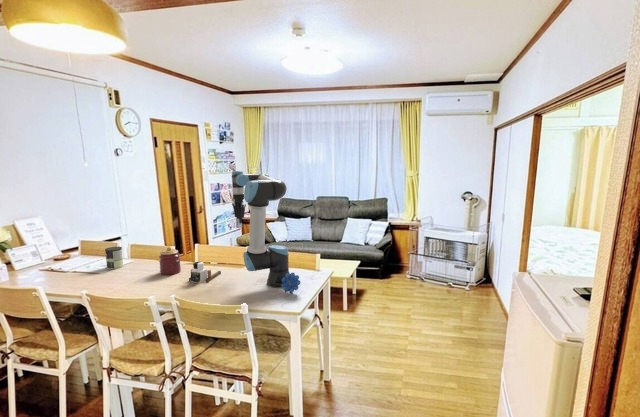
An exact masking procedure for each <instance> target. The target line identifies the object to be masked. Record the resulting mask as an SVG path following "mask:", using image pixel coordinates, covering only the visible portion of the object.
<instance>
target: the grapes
mask: <svg viewBox="0 0 640 417" xmlns="http://www.w3.org/2000/svg"><path fill="white" fill-rule="evenodd" d="M299 279H300V276H299V274H296V273H295V272H291V273H290V274H288V273H287V274H286V275H285V277H284V278H282V282H283V283H282V284H281V287H280V288H282V289H283V291H284V292H285V293H287V292H289V293H290V294H293V293H294V291H297V290H298V289H299V285H301V280H299Z"/></svg>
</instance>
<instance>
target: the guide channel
mask: <svg viewBox="0 0 640 417" xmlns="http://www.w3.org/2000/svg"><path fill="white" fill-rule="evenodd" d="M192 270H194V268H192V269H190V272H191V271H192ZM221 274H222V270H218V271H216V272H215V273H213V274H212V270H211V269H207V279H206V281H205V283H210V282H211V281H213V280H214V279H215V278H217V277H218V276H220V275H221ZM188 282H191V276H190V277H189V278H188Z"/></svg>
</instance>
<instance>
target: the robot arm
mask: <svg viewBox="0 0 640 417" xmlns="http://www.w3.org/2000/svg"><path fill="white" fill-rule="evenodd" d="M231 182H232V183H231V184H232V189H231V190H232V199H233V200H234V202H232V204H231V205H232V208H233V213H234V217H235V218H236V223H237V224H236V225H237V228H238V229H242V228H243V218H245V213H246V212H245V211H246V206H249V208H250V210H249V211H250V212H249V213H250V214H249V245H248V246H247V248H246V251H244V252H243V254H242V255H243V256H242V257H243V261H244V262H243V263H244V266H245V268H246V270H247V271H248V272H256V271H257V272H258V271H262V270H268V269H269V272H268V276H267V280H266V285H267V286H268V287H270V288H282V287H281V284H282V283H283V282H282V278H284V277H285V275H286V274H287V273H288V274H291V273H290V269H289V266H290V265H289V264H290V263H289V255H290V254H289V249H288V247H287V246H285V245H280V244H279V245H278V244H274V245H273V244H272V245H269V246H266V245H265V244H266V243H265V241H266V238H265V237H266V215H267V214H266V212H267V211H266V210H267V208H268V207H269V205H270V202H273V201H278V200H281V199H282V198H284V197H285V195H286V194H287V185H286V183H285V182H284V181H283V180H280V179H274V178H272V177H271V176H270V175H269V173H244V171H242V170H233V171H232V172H231ZM244 201H245V204H244ZM246 203H247V205H246Z"/></svg>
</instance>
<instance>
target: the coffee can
mask: <svg viewBox="0 0 640 417" xmlns="http://www.w3.org/2000/svg"><path fill="white" fill-rule="evenodd" d="M104 249H105V261H106V269H107V268H108V269H107V270H110V269H112V270H119V269H121V268H123V267H124V260H123V258H124V256H123V248H122V246H110V247H107V248H104Z"/></svg>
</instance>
